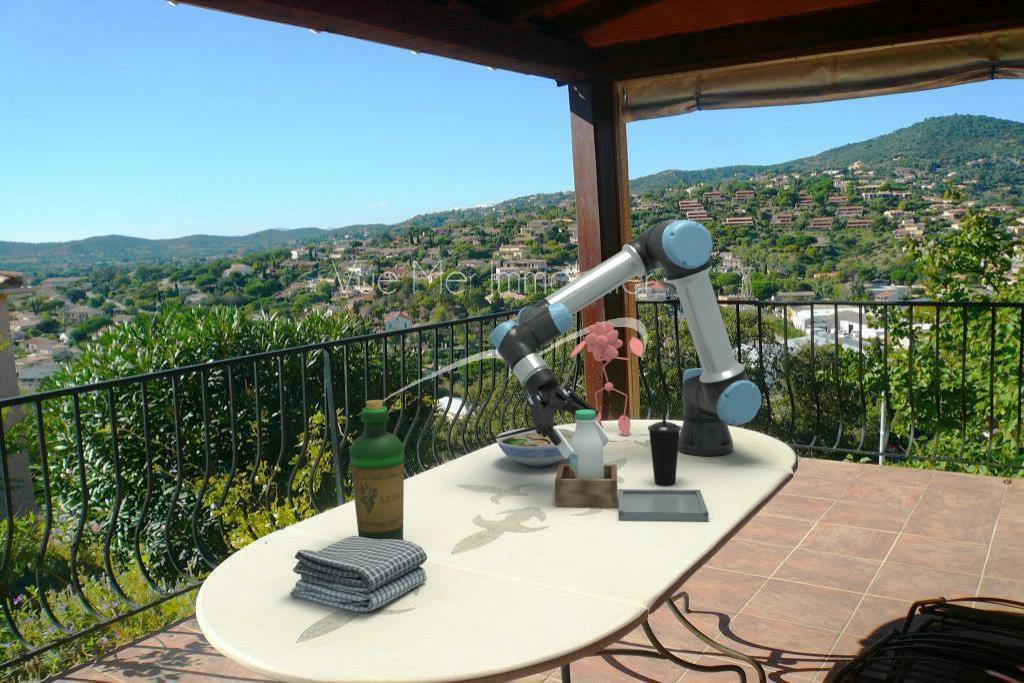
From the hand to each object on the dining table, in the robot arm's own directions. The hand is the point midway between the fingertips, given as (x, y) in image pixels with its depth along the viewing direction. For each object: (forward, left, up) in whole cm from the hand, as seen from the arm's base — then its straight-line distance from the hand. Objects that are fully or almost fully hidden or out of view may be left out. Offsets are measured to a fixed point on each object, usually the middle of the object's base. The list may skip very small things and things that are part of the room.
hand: (588, 449), depth 175 cm
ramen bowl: (+15, -31, -12) cm, 36 cm away
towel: (+37, +50, -12) cm, 64 cm away
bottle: (+40, +29, -12) cm, 51 cm away
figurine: (-2, -64, -12) cm, 65 cm away
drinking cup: (-17, -13, -12) cm, 25 cm away
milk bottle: (+1, -1, -12) cm, 12 cm away
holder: (+1, -1, -11) cm, 11 cm away
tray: (-15, +6, -11) cm, 20 cm away
